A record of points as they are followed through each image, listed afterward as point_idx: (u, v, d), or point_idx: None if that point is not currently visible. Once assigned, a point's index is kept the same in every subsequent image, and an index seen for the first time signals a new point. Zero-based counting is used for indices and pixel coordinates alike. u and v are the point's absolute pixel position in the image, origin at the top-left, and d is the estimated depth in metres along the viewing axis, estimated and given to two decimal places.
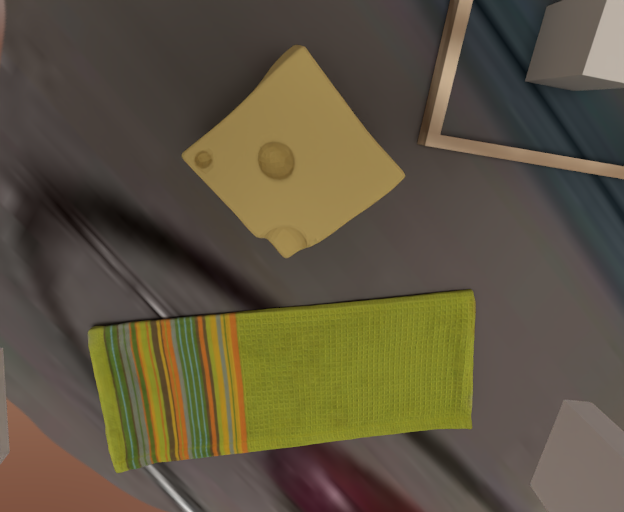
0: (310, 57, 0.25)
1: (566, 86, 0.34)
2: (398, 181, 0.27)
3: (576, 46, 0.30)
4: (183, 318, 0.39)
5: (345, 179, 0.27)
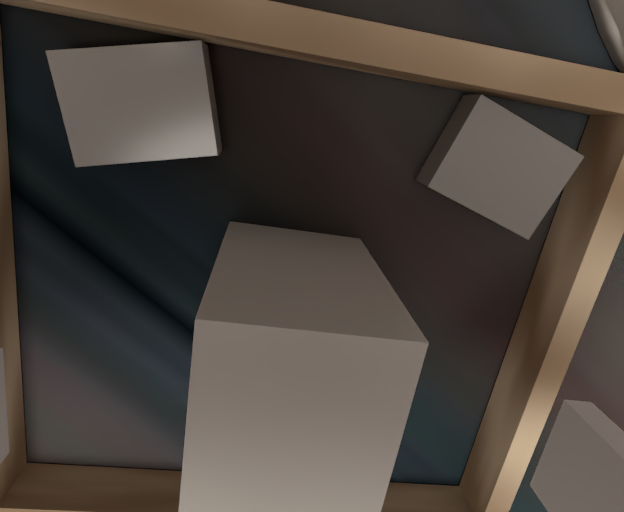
0: None
1: None
2: None
3: None
4: None
5: None
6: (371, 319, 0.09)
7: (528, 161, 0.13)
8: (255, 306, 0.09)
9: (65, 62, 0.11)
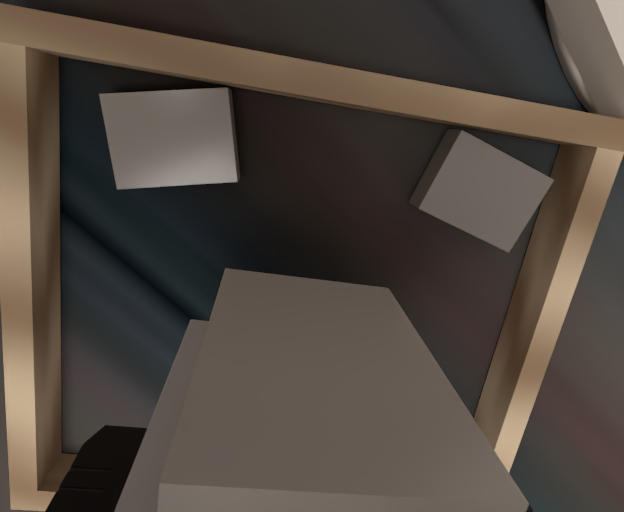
0: None
1: None
2: None
3: None
4: None
5: None
6: (432, 453, 0.06)
7: (505, 185, 0.15)
8: (257, 439, 0.06)
9: (114, 103, 0.14)
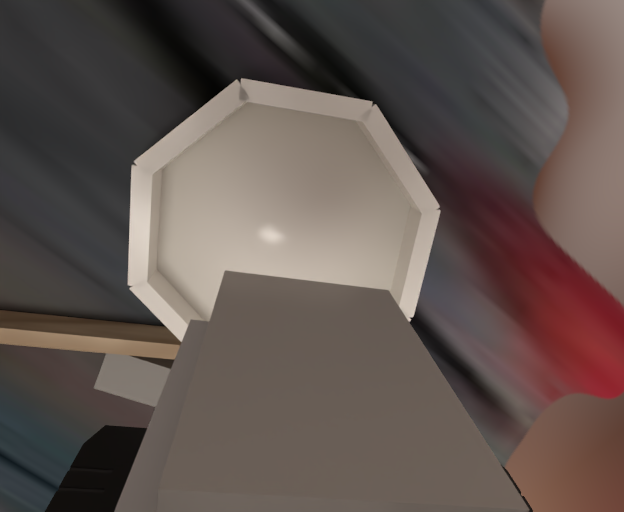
0: None
1: None
2: None
3: None
4: None
5: None
6: (431, 458, 0.06)
7: (143, 374, 0.27)
8: (257, 444, 0.06)
9: None
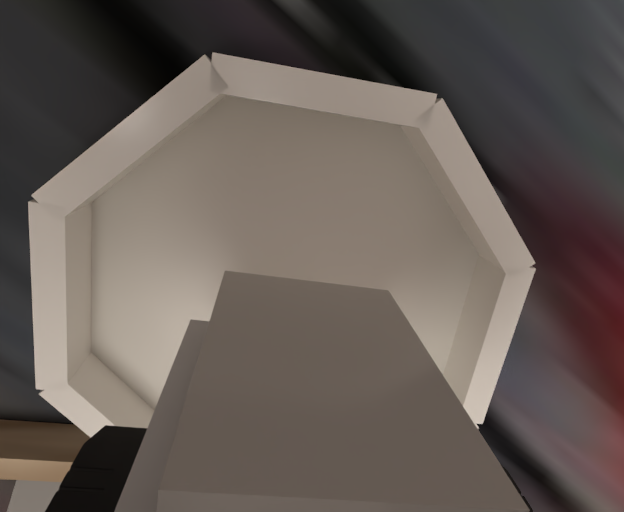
0: None
1: None
2: None
3: None
4: None
5: None
6: (432, 458, 0.06)
7: None
8: (257, 445, 0.06)
9: None
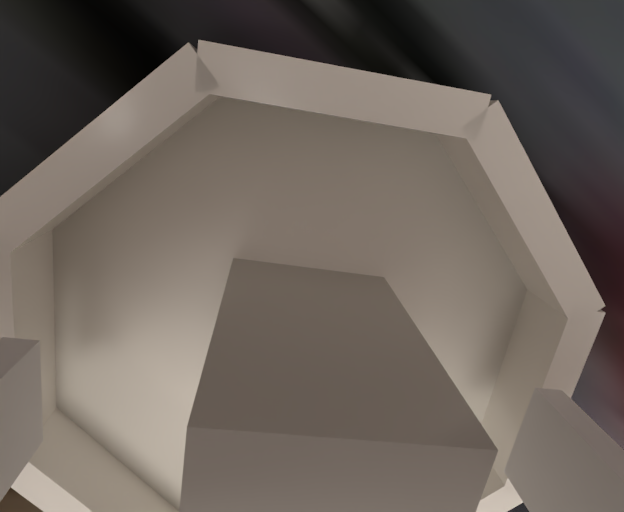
0: None
1: None
2: None
3: None
4: None
5: None
6: (417, 411, 0.07)
7: None
8: (267, 396, 0.07)
9: None
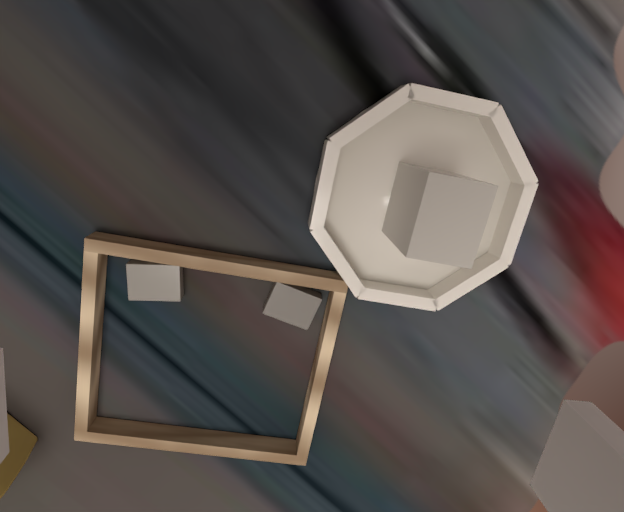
0: None
1: None
2: None
3: (406, 222, 0.29)
4: None
5: None
6: (477, 181, 0.27)
7: (300, 302, 0.35)
8: (441, 173, 0.27)
9: (132, 268, 0.33)
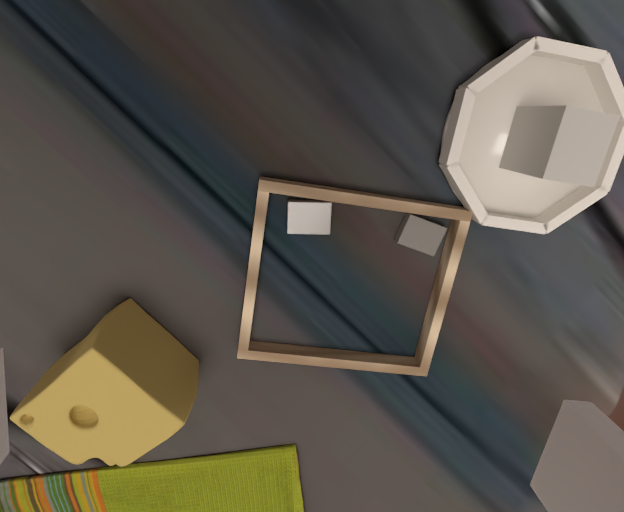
0: (98, 355, 0.34)
1: None
2: (179, 428, 0.36)
3: (538, 152, 0.35)
4: (53, 476, 0.48)
5: (137, 428, 0.36)
6: None
7: (429, 231, 0.41)
8: None
9: (292, 205, 0.40)
